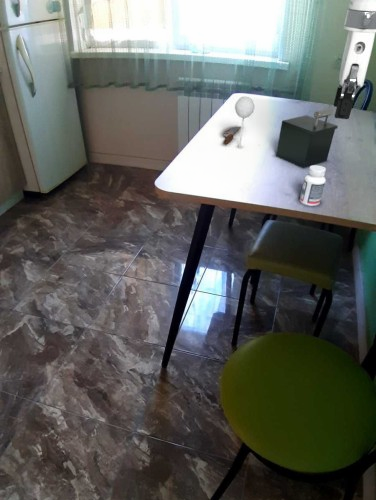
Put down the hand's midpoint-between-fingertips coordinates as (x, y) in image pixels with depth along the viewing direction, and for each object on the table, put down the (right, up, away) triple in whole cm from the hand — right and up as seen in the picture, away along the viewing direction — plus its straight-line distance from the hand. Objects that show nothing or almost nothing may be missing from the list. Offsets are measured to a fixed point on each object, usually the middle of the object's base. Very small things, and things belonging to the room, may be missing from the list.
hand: (340, 112), depth 96 cm
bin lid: (+1, +11, +28) cm, 30 cm away
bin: (0, +4, +34) cm, 35 cm away
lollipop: (-19, +10, +40) cm, 45 cm away
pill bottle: (-4, -17, +12) cm, 21 cm away
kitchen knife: (-22, +18, +48) cm, 56 cm away
